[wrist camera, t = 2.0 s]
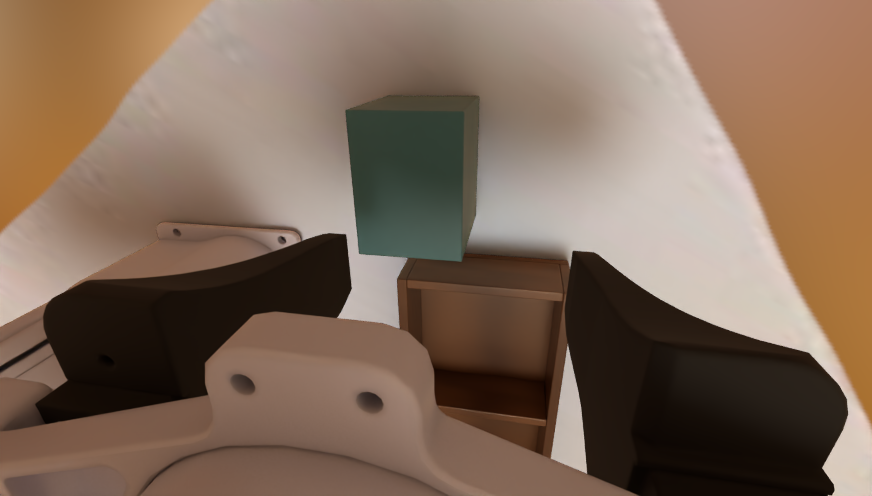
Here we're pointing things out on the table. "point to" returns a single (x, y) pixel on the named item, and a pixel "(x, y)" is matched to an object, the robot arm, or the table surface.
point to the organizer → (492, 340)
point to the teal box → (414, 174)
